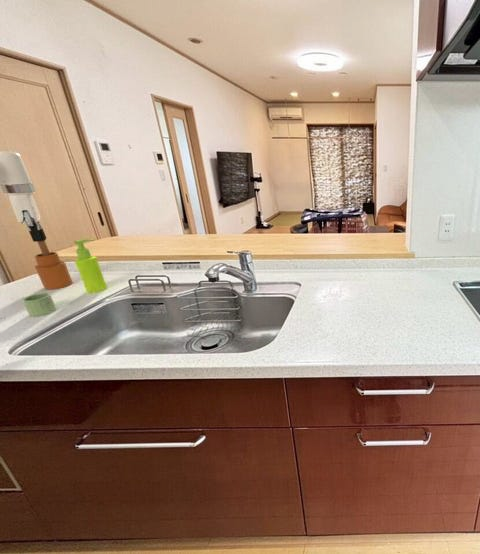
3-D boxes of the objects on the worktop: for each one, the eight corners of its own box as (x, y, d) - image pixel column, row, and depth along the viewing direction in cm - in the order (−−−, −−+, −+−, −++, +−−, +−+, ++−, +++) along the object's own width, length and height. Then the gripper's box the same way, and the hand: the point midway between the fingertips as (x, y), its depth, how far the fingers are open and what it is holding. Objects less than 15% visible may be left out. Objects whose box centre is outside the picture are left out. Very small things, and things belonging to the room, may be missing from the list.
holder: (28, 320, 93) (20, 303, 91) (31, 312, 97) (23, 296, 95) (56, 314, 97) (49, 297, 94) (57, 307, 101) (51, 291, 99)
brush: (46, 273, 113) (26, 227, 106) (47, 270, 116) (27, 225, 109) (59, 271, 115) (40, 225, 108) (60, 268, 118) (41, 224, 111)
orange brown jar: (43, 291, 112) (29, 259, 107) (45, 284, 118) (32, 253, 113) (72, 285, 117) (59, 254, 112) (73, 280, 123) (61, 250, 118)
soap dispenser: (113, 289, 115) (95, 239, 108) (90, 295, 110) (70, 243, 102) (107, 285, 118) (89, 236, 110) (84, 291, 113) (65, 240, 105)
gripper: (7, 188, 107) (28, 237, 114) (-3, 192, 96) (22, 246, 103) (36, 187, 111) (56, 234, 118) (30, 190, 100) (52, 243, 107)
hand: (40, 239), depth 111 cm, fingers closed on brush, 2 cm apart
